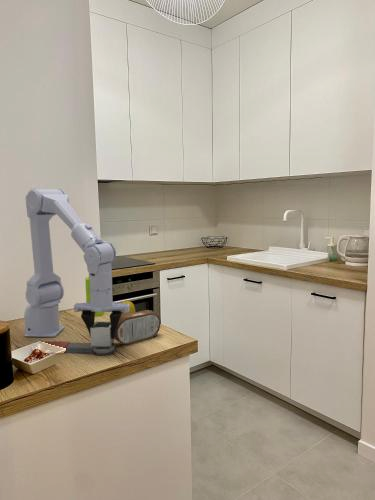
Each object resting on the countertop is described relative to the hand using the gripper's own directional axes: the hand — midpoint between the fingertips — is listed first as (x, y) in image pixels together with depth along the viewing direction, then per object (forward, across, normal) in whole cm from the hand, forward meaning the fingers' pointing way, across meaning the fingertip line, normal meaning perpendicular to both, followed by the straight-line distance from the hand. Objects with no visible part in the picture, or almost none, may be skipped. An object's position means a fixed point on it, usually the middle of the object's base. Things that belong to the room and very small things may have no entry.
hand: (102, 337), depth 99 cm
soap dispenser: (+4, -11, +31) cm, 33 cm away
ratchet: (+4, -7, 0) cm, 8 cm away
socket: (+2, 0, 0) cm, 2 cm away
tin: (+4, +8, +8) cm, 12 cm away
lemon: (+4, +2, +22) cm, 22 cm away
